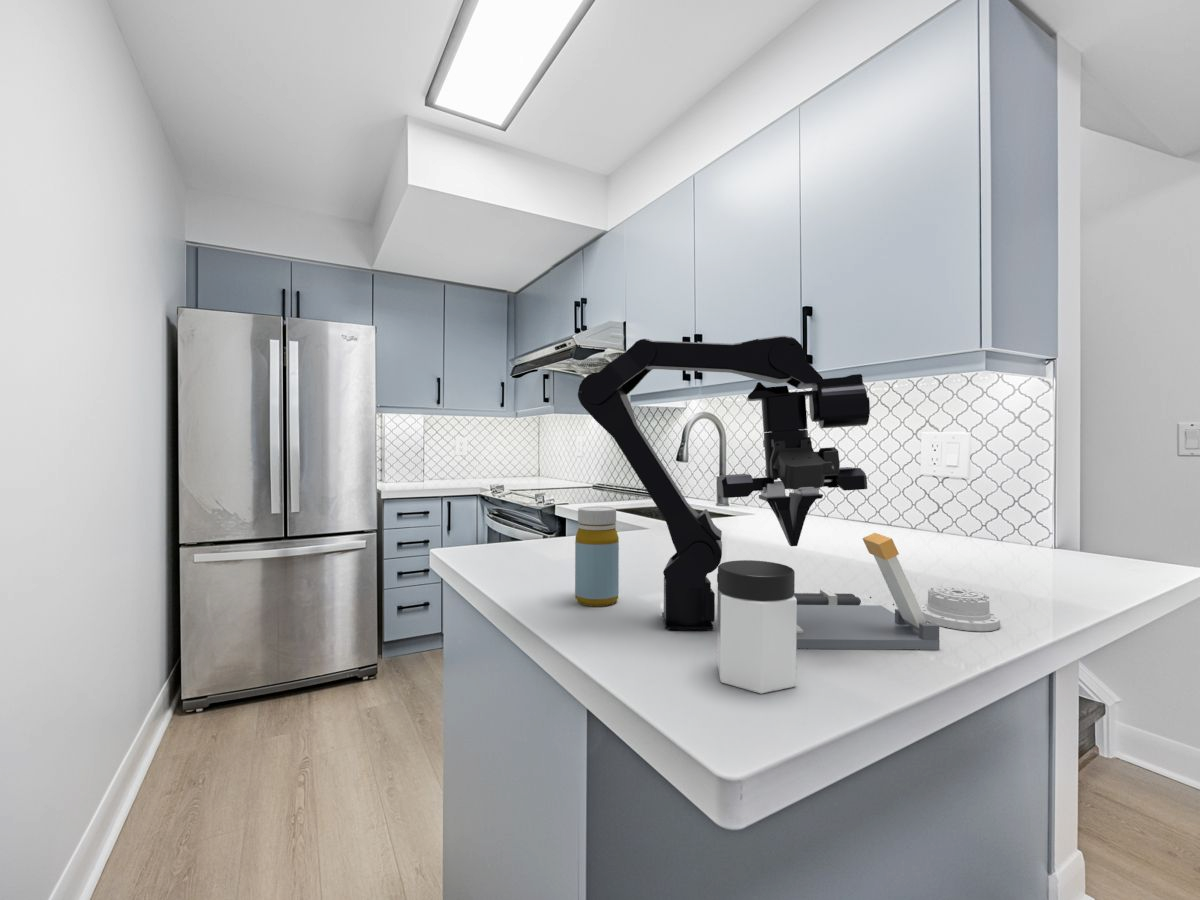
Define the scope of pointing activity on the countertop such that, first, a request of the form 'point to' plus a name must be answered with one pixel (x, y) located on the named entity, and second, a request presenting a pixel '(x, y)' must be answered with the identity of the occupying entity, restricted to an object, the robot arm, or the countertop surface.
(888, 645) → the plate
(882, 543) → the lever
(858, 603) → the dressed cords
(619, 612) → the countertop surface
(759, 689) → the jar
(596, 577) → the bottle
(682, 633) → the countertop surface
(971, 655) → the countertop surface
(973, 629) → the mechanical component
